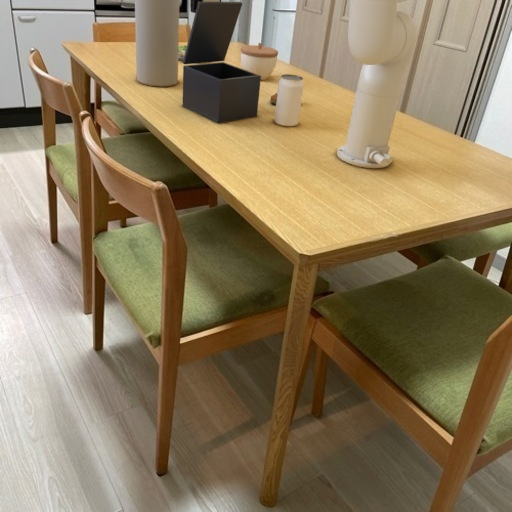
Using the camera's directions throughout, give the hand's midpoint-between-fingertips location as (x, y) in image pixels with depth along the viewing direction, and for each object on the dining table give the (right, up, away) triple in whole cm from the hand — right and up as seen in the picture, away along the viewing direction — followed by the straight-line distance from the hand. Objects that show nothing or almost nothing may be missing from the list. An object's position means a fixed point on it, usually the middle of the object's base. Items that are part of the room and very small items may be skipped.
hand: (205, 11), depth 134 cm
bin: (+3, -23, +8) cm, 25 cm away
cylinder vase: (-18, -9, +27) cm, 33 cm away
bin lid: (+2, -6, 0) cm, 6 cm away
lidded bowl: (+13, -1, +45) cm, 47 cm away
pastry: (+22, -18, +21) cm, 35 cm away
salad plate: (-11, +11, +61) cm, 63 cm away
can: (+21, -28, +5) cm, 35 cm away
